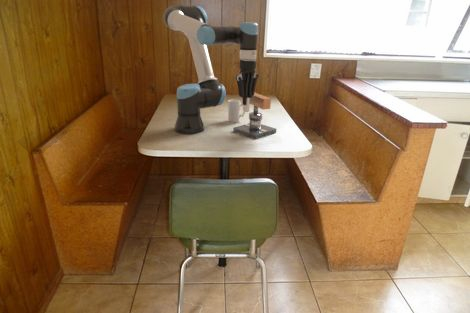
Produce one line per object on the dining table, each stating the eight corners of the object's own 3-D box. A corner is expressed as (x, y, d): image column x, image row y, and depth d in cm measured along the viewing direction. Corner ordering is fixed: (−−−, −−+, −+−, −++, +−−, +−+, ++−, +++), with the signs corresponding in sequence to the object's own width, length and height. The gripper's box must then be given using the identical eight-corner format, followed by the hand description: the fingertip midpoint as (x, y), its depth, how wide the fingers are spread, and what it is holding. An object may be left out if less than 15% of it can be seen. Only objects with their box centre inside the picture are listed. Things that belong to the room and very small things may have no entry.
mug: (227, 122, 193) (227, 101, 188) (228, 119, 199) (228, 99, 195) (245, 123, 193) (245, 102, 188) (245, 119, 199) (246, 99, 194)
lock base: (233, 131, 179) (233, 118, 176) (254, 125, 189) (254, 113, 187) (255, 139, 168) (256, 125, 166) (276, 132, 179) (277, 119, 176)
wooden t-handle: (260, 124, 166) (261, 99, 162) (240, 114, 183) (241, 91, 178) (271, 122, 169) (273, 98, 165) (251, 113, 186) (252, 90, 181)
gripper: (243, 61, 144) (241, 115, 153) (264, 59, 152) (261, 110, 162) (231, 59, 149) (230, 111, 158) (251, 57, 157) (249, 107, 167)
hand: (246, 111), depth 160 cm, fingers closed
